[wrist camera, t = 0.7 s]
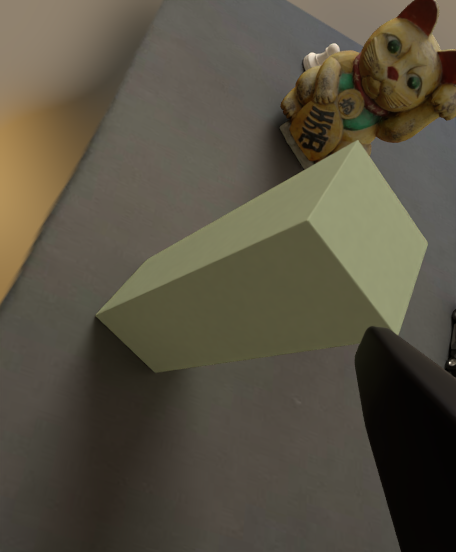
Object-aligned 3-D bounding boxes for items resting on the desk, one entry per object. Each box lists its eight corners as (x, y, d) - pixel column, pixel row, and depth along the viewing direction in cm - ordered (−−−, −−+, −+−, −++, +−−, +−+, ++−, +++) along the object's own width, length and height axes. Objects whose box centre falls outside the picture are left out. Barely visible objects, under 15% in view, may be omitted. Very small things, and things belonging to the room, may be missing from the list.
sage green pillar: (155, 373, 26) (397, 338, 14) (94, 315, 24) (307, 220, 12) (197, 314, 29) (428, 243, 17) (146, 259, 27) (358, 139, 15)
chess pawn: (322, 76, 46) (349, 56, 44) (311, 82, 45) (338, 61, 42) (310, 55, 46) (336, 33, 43) (299, 59, 44) (325, 37, 42)
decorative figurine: (256, 111, 38) (417, -19, 26) (294, 79, 43) (444, -41, 32) (317, 198, 40) (488, 114, 29) (347, 158, 45) (503, 74, 34)
